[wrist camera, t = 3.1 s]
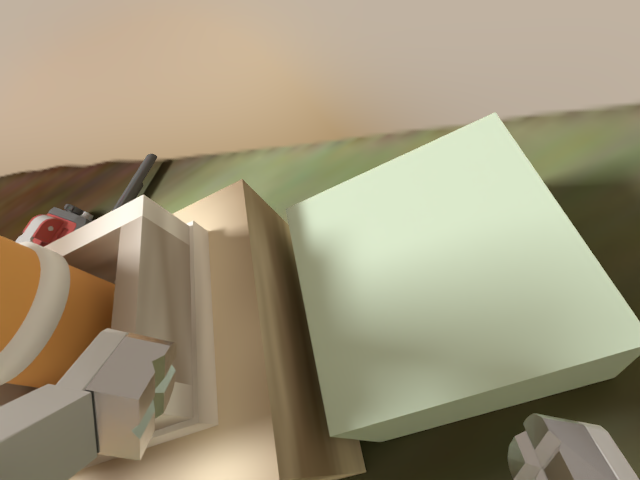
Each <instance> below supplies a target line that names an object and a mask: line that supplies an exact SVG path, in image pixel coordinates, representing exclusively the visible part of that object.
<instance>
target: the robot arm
mask: <svg viewBox="0 0 640 480" xmlns="http://www.w3.org/2000/svg"><path fill="white" fill-rule="evenodd" d="M175 357H176V344H175V343H174V342H170V341H165V340H161V339H157V338H152V337H148V336H143V335H139V334H134V333H128V332H123V331H119V330H114V329H110V328H107V329H105V330H103V331H101V332H100V333H99V334H98V335H97V337H96V338H95V339H94V340H93V341H92V342H91V344H90V345H89V346H88V347H87V348H86V350H85V351H84V352H83V353H82V354H81V355H80V357H79V358H78V359H77V360H76V361H75V363H74V364H73V365H72V366H71V367H70V368H69V370H68V371H67V372H66V373H65V374H64V376H63V377H62V378H61V379H60V380H59V381H58V383H57V384H56V385H52V384H46V385H44V386H42V387H40V388H38V389H36V390H34V391H32V392H30V393H28V394H26V395H23V396H21V397H19V398H17V399H15V400H13V401H11V402H9V403H7V404H5V405H3V406H0V480H68V479H70V478H71V477H72V476H73V475H75V474H76V473H77V472H79V471H80V470H81V469H82V468H84V467H85V466H86V465H88V464H89V463H90V462H91V461H93V460H94V459H95V458H97V454H100V455H106V456H113V457H119V458H126V459H132V460H138V461H140V460H141V458H142V456H143V454H144V452H145V450H146V448H147V446H148V444H149V442H150V440H151V438H152V436H153V434H154V432H155V418H157V417H159V416H160V415H162V414H163V413H164V411H165V409H166V407H167V405H168V403H169V400H170V397H171V394H172V391H173V388H174V383H175V376H176V370H175V368H174V367H173V366H172V363H173V361H174V359H175ZM523 425H524V428H525V431H524V432H522V433H520V434H518V435H516V436H514V438H513V440H512V442H511V443H510V445H509V450H508V465H509V470H510V473H511V475H512V478H513V480H639V478H638V477H637V475H636V474H635V472H634V471H633V469H632V468H631V466H630V465H629V463H628V462H627V460H626V459H625V457H624V456H623V454H622V453H621V451H620V450H619V448H618V447H617V445H616V444H615V442H614V441H613V439H612V438H611V436H610V434H609V433H608V432H607V431H606V430H605V429H604V428H603V427H601V426H600V425H595V424H589V423H584V422H579V421H577V422H576V421H573V420H568V419H563V418H557V417H552V416H547V415H541V414H536V413H534V414H532V415H530V416H528V417H527V419H526V420H525V421H524V423H523Z"/></svg>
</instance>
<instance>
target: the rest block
mask: <svg viewBox="0 0 640 480" xmlns="http://www.w3.org/2000/svg"><path fill="white" fill-rule="evenodd" d="M286 214H287V219H288V224H289V229H290V234H291V240H292V245H293V250H294V255H295V260H296V265H297V270H298V276H299V281H300V286H301V291H302V296H303V301H304V306H305V311H306V317H307V322H308V327H309V332H310V337H311V342H312V347H313V353H314V358H315V363H316V368H317V373H318V378H319V383H320V389H321V394H322V399H323V404H324V409H325V414H326V419H327V425H328V430H329V435H330V437H337V438H346V439H355V440H364V441H374V442H384V441H387V440H391V439H394V438H398V437H402V436H405V435H409V434H413V433H416V432H420V431H423V430H427V429H431V428H434V427H438V426H441V425H445V424H449V423H452V422H456V421H460V420H463V419H467V418H470V417H474V416H478V415H481V414H485V413H489V412H492V411H496V410H499V409H503V408H507V407H510V406H514V405H517V404H521V403H525V402H528V401H532V400H536V399H539V398H543V397H546V396H550V395H554V394H557V393H561V392H565V391H568V390H572V389H575V388H579V387H583V386H586V385H590V384H593V383H597V382H601V381H604V380H608V379H612V378H615V377H616V376H617V375H618V374H619V373H620V372H622V371H623V370H624V369H625V368H626V367H627V366H628V365H629V364H631V363H632V362H633V361H634V360H635V359H636V358H637V357H639V356H640V321H639V320H638V318H637V317H636V316H635V314H634V313H633V311H632V310H631V308H630V307H629V305H628V304H627V303H626V301H625V300H624V298H623V297H622V295H621V294H620V292H619V291H618V289H617V288H616V287H615V285H614V284H613V282H612V281H611V279H610V278H609V276H608V275H607V274H606V272H605V271H604V269H603V268H602V266H601V265H600V263H599V262H598V260H597V259H596V258H595V256H594V255H593V253H592V252H591V250H590V249H589V247H588V246H587V244H586V243H585V242H584V240H583V239H582V237H581V236H580V234H579V233H578V231H577V230H576V229H575V227H574V226H573V224H572V223H571V221H570V220H569V218H568V217H567V215H566V214H565V213H564V211H563V210H562V208H561V207H560V205H559V204H558V202H557V201H556V200H555V198H554V197H553V195H552V194H551V192H550V191H549V189H548V188H547V186H546V185H545V184H544V182H543V181H542V179H541V178H540V176H539V175H538V173H537V172H536V171H535V169H534V168H533V166H532V165H531V163H530V162H529V160H528V159H527V157H526V156H525V155H524V153H523V152H522V150H521V149H520V147H519V146H518V144H517V143H516V142H515V140H514V139H513V137H512V136H511V134H510V133H509V131H508V130H507V128H506V127H505V126H504V124H503V123H502V121H501V120H500V118H499V117H498V115H497V114H496V113H493V114H490V115H488V116H486V117H484V118H482V119H480V120H478V121H475V122H473V123H471V124H469V125H467V126H464V127H462V128H460V129H458V130H456V131H454V132H452V133H449V134H447V135H445V136H443V137H441V138H439V139H436V140H434V141H432V142H430V143H428V144H426V145H423V146H421V147H419V148H417V149H415V150H413V151H410V152H408V153H406V154H404V155H402V156H400V157H397V158H395V159H393V160H391V161H389V162H387V163H384V164H382V165H380V166H378V167H376V168H374V169H371V170H369V171H367V172H365V173H363V174H361V175H358V176H356V177H354V178H352V179H350V180H348V181H345V182H343V183H341V184H339V185H337V186H335V187H332V188H330V189H328V190H326V191H324V192H322V193H319V194H317V195H315V196H313V197H311V198H309V199H306V200H304V201H302V202H300V203H298V204H296V205H293V206H291V207H289V208H287V209H286Z"/></svg>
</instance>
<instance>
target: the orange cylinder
mask: <svg viewBox="0 0 640 480" xmlns="http://www.w3.org/2000/svg"><path fill="white" fill-rule="evenodd" d="M114 291H115V284H113V283H111V282H108V281H106V280H104V279H101V278H99V277H97V276H94V275H92V274H89V273H87V272H85V271H82V270H80V269H78V268H75V267H73V266H71V265H68V263H67V261H66V260H65V258H64V257H63V256H62V255H60V254H58V253H56V252H54V251H52V250H49V249H47V248H45V247H42V246H40V245H38V244H36V243H33V242H20V243H16V242H14V241H12V240H9V239H7V238H5V237H2V236H0V385H3V384H4V383H9V384H16V385H23V386H29V387H36V388H40V387H42V386H44V385H46V384H52V385H56V384H57V383H58V381H59V380H60V379H61V378H62V377H63V376H64V374H65V373H66V372H67V371H68V370H69V368H70V367H71V366H72V365H73V364H74V363H75V361H76V360H77V359H78V358H79V357H80V355H81V354H82V353H83V352H84V351H85V350H86V348H87V347H88V346H89V345H90V344H91V342H92V341H93V340H94V339H95V338H96V337H97V335H98V334H99V333H100V332H101V331H103V330H105V329H107V328H110V329H111V322H112V312H113V302H114Z"/></svg>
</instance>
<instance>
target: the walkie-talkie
mask: <svg viewBox="0 0 640 480" xmlns="http://www.w3.org/2000/svg"><path fill="white" fill-rule="evenodd" d="M156 159H157V156H156V155H154V154H149V155H147V156H146V158H145V159H144V161H143V163H142V164H141V166H140V167H139V169H138V171H137V172H136V174H135V175H134V177H133V178H132V180H131V182H130V183H129V185H128V186H127V188H126V189H125V191H124V193H123V194H122V196H121V197H120V199H119V201H118V202H117V204H116V205H115V207H114V208H113V210H115V209H117V208H119V207H121V206H123V205H124V204H126V203H128V202H130V201H132V200H134V199H135V198H136V197H137V195H138V193H139V192H140V190H141V188H142V187H143V183H142V182H143V180H144V178H145V177H146V175H147V173H148V172H149V170H150V168H151V167H152V165H153V164H154V162H155V160H156ZM64 209H65V210H66V211H64V210H61V209H58V208H55V207H53V208H52V209H51V210H50V211H49V213H48V214H47V215H37V216H35V217H33V218H32V219H31V220H30V222H29V223H28V225H27V226H26V227H25V229H24V230H23V235H22V236H19V238H18V239H17V240H16V243H20V242H33V243H36V244H38V245H40V246H42V247H45V246H47V245H48V244H50V243H52V242H54V241H56V240H58V239H60V238H62V237H64V236H66V235H67V234H69V233H71V232H73V231H75V230H77V229H79V228H81V227H83V226H85V225H86V224H88V223H90V222H92V218H93V217H94V216H93V215H91V214H89V213H87V212H85V211H83V210H81V209H79V208H77V207H75V206H73V205H70V204H66V205H65V207H64ZM113 210H112V211H113Z"/></svg>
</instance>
